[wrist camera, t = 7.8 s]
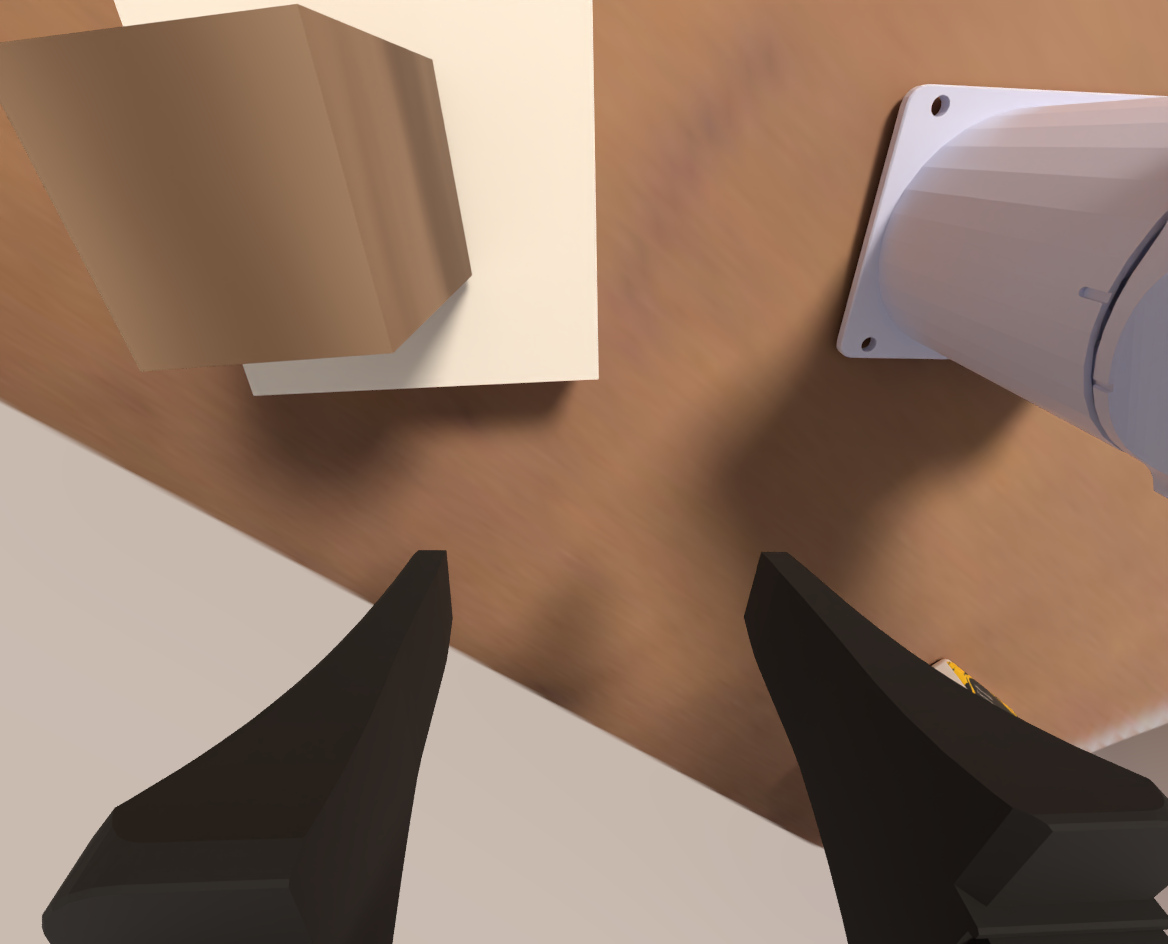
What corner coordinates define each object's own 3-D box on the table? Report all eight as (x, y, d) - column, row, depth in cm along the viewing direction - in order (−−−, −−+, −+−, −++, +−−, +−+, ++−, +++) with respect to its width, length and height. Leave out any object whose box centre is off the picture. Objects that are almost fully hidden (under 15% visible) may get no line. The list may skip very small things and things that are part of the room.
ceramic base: (580, -31, 15) (590, -83, 11) (589, 338, 20) (598, 379, 16) (196, -22, 15) (87, -74, 11) (305, 351, 20) (253, 395, 16)
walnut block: (432, 59, 12) (296, 3, 7) (471, 275, 14) (393, 353, 9) (236, 82, 12) (-30, 46, 7) (305, 289, 15) (140, 371, 10)
